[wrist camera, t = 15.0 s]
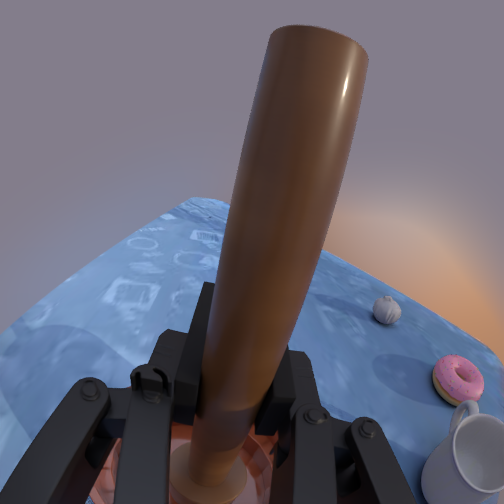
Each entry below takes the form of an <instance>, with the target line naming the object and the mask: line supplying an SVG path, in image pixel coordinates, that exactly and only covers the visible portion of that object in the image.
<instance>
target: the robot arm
mask: <svg viewBox="0 0 504 504" xmlns="http://www.w3.org/2000/svg"><path fill="white" fill-rule="evenodd" d="M214 287H215V283H210V282H205V281H204V284H203V287H202V290H201V293H200V296H199V300H198V303H197V306H196V309H195V312H194V316H193V319H192V322H191V325H190V329H189V332H188V333H183V332H179V331H174V330H170V329H167V330H166V331H164V332H163V333H162V334H161V335H160V336H159V338H158V341H157V343H156V345H155V348H154V350H153V353H152V355H151V357H150V360H149V362H148V364H144V365H140V366H138V367H136V368H135V369H133V371H132V373H131V374H130V379H131V386H132V387H129V388H107V386H106V385H105V383H104V382H102V381H101V380H99V379H96V378H93V377H87V378H83V379H80V380H79V381H77V382H76V383H75V384H74V385H73V387H72V388H71V389H70V391H69V392H68V393H67V394H66V396H65V397H64V398H63V400H62V401H61V402H60V404H59V405H58V407H57V408H56V409H55V411H54V412H53V413H52V415H51V416H50V417H49V419H48V420H47V422H46V423H45V424H44V426H43V427H42V429H41V430H40V432H39V433H38V434H37V436H36V437H35V439H34V440H33V442H32V443H31V445H30V446H29V448H28V449H27V451H26V452H25V454H24V455H23V457H22V458H21V460H20V461H19V463H18V464H17V466H16V468H15V469H14V471H13V472H12V474H11V476H10V477H9V479H8V480H7V482H6V484H5V486H4V487H3V489H2V491H1V492H0V504H85V502H86V500H87V498H88V496H89V494H90V492H91V490H92V488H93V486H94V484H95V482H96V480H97V478H98V476H99V474H100V472H101V470H102V468H103V466H104V464H105V462H106V460H107V458H108V456H109V454H110V452H111V450H112V449H113V447H114V445H115V443H116V441H117V439H118V438H122V443H121V449H120V455H119V461H118V468H117V475H116V482H115V490H114V499H113V504H169V476H170V452H171V435H172V423H173V422H176V423H181V424H185V425H190V426H193V423H194V418H195V412H196V404H197V397H198V390H199V383H200V376H201V365H202V359H203V352H204V346H205V340H206V334H207V328H208V322H209V316H210V310H211V304H212V298H213V293H214ZM254 424H255V435H263V436H274V435H275V433H276V432H277V430H278V440H277V442H276V443H275V445H274V446H273V447H272V449H271V451H270V453H269V454H270V455H272V454H273V453H274V458H273V468H272V478H271V488H270V497H269V504H417V503H416V501H415V498H414V496H413V494H412V492H411V489H410V487H409V485H408V483H407V481H406V479H405V476H404V474H403V472H402V470H401V468H400V466H399V464H398V461H397V459H396V457H395V455H394V453H393V451H392V449H391V447H390V445H389V443H388V441H387V439H386V437H385V435H384V433H383V431H382V429H381V427H380V425H379V424H378V423H377V422H376V421H375V420H373V419H371V418H368V417H359V418H357V419H355V420H354V421H353V422H352V423H351V422H347V421H343V420H339V419H336V418H333V417H331V416H330V413H329V412H328V411H327V410H326V409H325V408H324V407H322V406H321V403H320V399H319V395H318V391H317V386H316V382H315V378H314V374H313V371H312V365H311V361H310V359H309V358H308V357H307V355H306V354H305V353H304V352H301V351H292V350H289V348H288V345H287V347H286V350H285V352H284V355H283V357H282V360H281V362H280V364H279V367H278V369H277V372H276V374H275V376H274V379H273V381H272V383H271V386H270V388H269V390H268V392H267V395H266V397H265V399H264V401H263V404H262V406H261V408H260V410H259V412H258V415H257V417H256V419H255V421H254Z"/></svg>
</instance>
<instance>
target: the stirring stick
mask: <svg viewBox="0 0 504 504" xmlns="http://www.w3.org/2000/svg"><path fill="white" fill-rule="evenodd" d="M368 60H369V59H368V55H367V53H366V51H365V50H364V48H362V46H361V45H359V44H358V43H357V42H356V41H354V40H352V39H351V38H349V37H347V36H345V35H343V34H341V33H339V32H336V31H333V30H330V29H326V28H323V27H318V26H312V25H288V26H283V27H280V28H278V29H276V30H275V31H274V32H273V33H272V34H271V36H270V39H269V42H268V46H267V50H266V54H265V57H264V62H263V65H262V69H261V73H260V77H259V81H258V85H257V89H256V93H255V97H254V101H253V105H252V109H251V114H250V118H249V122H248V126H247V131H246V135H245V139H244V144H243V148H242V153H241V157H240V162H239V166H238V171H237V176H236V180H235V185H234V189H233V194H232V199H231V204H230V209H229V214H228V219H227V224H226V229H225V234H224V239H223V244H222V249H221V254H220V260H219V265H218V270H217V276H216V281H215V287H214V293H213V298H212V304H211V310H210V316H209V322H208V328H207V334H206V340H205V346H204V352H203V359H202V365H201V376H200V383H199V390H198V397H197V404H196V412H195V418H194V423H193V429H192V437H191V442H188V443H185V444H183V445H181V446H179V447H178V448H177V449H175V450H174V451H173V453H172V454H171V455H170V476H169V491H170V493H171V495H172V497H173V498H174V500H175V501H176V502H177V503H178V504H231V503H232V502H233V501H234V500H235V499H236V498H237V497H238V496H239V494H240V493H241V492H242V491H243V489H244V487H245V485H246V482H247V469H246V466H245V464H244V462H243V460H242V459H241V457H240V456H239V455H238V454H239V452H240V450H241V448H242V446H243V444H244V442H245V440H246V438H247V436H248V434H249V432H250V430H251V427H252V425H253V423H254V421H255V419H256V417H257V415H258V412H259V410H260V408H261V406H262V404H263V401H264V399H265V397H266V395H267V392H268V390H269V388H270V386H271V383H272V381H273V379H274V376H275V374H276V372H277V369H278V367H279V364H280V362H281V360H282V357H283V355H284V352H285V350H286V347H287V345H288V342H289V340H290V337H291V335H292V332H293V329H294V327H295V324H296V322H297V319H298V316H299V314H300V311H301V308H302V305H303V303H304V300H305V297H306V294H307V291H308V289H309V286H310V283H311V280H312V277H313V274H314V271H315V268H316V265H317V262H318V259H319V256H320V253H321V250H322V247H323V244H324V241H325V237H326V234H327V231H328V228H329V224H330V221H331V218H332V215H333V211H334V208H335V204H336V201H337V197H338V194H339V190H340V187H341V183H342V179H343V175H344V172H345V167H346V164H347V160H348V156H349V152H350V148H351V144H352V140H353V135H354V131H355V126H356V122H357V118H358V113H359V108H360V104H361V99H362V93H363V89H364V83H365V78H366V72H367V67H368Z"/></svg>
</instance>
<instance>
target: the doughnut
mask: <svg viewBox="0 0 504 504" xmlns="http://www.w3.org/2000/svg"><path fill="white" fill-rule="evenodd" d="M433 383H434V386H435V388H436V390H437V391H438V393H439V394H440V395H441V396H442V397H443V398H444V399H445V400H446V401H447V402H449V403H450V404H452V405H455V406H459V404H461V403H462V402H463V401H466V400H473V401H475V402H476V401H478V400H479V399H480V397H481V396H482V392H483V391H484V390H483V389H484V381H483V377H482V375H481V373H480V371H479V370H478V368H476V366H475V365H473V364H472V363H471V362H470V361H468V360H467V359H465V358H463V357H461V356H458V355H457V354H456V355H452V354H451V355H446V356H444V357H443V358H441V359H440V360H438V362H437V363H436V365H435V367H434V370H433Z"/></svg>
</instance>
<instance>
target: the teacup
mask: <svg viewBox="0 0 504 504" xmlns="http://www.w3.org/2000/svg"><path fill="white" fill-rule="evenodd" d="M467 408H468V412H469V413H468V416H467V417H465V418H464V419H463V420H462V421H461V418H462V416H463V413H464V412H465V410H466V409H467ZM421 487H422V492H423V494H424V497H425V499H426V501H427V502H428V503H429V504H480V503H481V502H483V501H485V500H486V499H488V498H489V497H491V496H492V495H494V494H495V493H497V492H499V491H501V490H503V489H504V423H503V422H502V421H500V420H499V419H497V418H496V417H493V416H491V415H487V414H482V413H479V408H478V404H477V403H476V402H475V401H473V400H466V401H463V402H462V403H461V404H459V406H458V407H457V408H456V410H455V412H454V413H453V416H452V419H451V423H450V429H449V435H448V436H447V437H446V438H445V439H444V440H443V441H442V442H441V443H440V444H439V445H438V446H437V447H436V448H435V449H434V451H433V452H432V453H431V454H430V456H429V457H428V459H427V461H426V463H425V465H424V468H423V471H422V477H421Z"/></svg>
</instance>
